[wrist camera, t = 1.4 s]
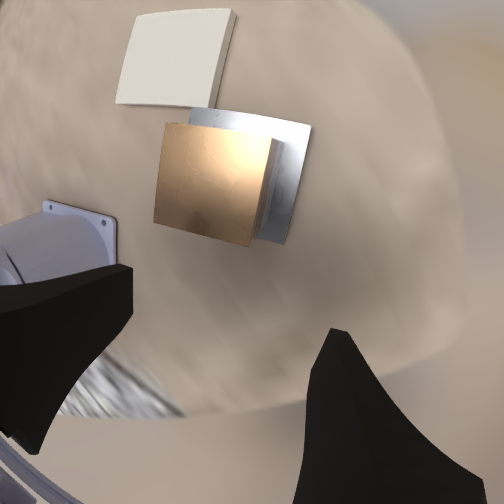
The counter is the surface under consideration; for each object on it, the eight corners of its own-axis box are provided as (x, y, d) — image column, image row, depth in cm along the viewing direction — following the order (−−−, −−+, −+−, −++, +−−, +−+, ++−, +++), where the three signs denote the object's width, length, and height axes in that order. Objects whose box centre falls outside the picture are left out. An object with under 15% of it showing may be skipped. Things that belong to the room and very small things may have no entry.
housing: (195, 202, 17) (153, 222, 12) (207, 128, 15) (165, 122, 11) (267, 219, 16) (248, 247, 12) (284, 142, 15) (271, 137, 10)
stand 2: (182, 213, 19) (175, 217, 17) (199, 108, 16) (191, 106, 15) (285, 238, 18) (283, 244, 17) (311, 127, 15) (311, 126, 14)
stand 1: (124, 105, 17) (114, 103, 16) (145, 20, 14) (137, 15, 13) (214, 110, 16) (207, 107, 15) (236, 16, 13) (231, 8, 12)
